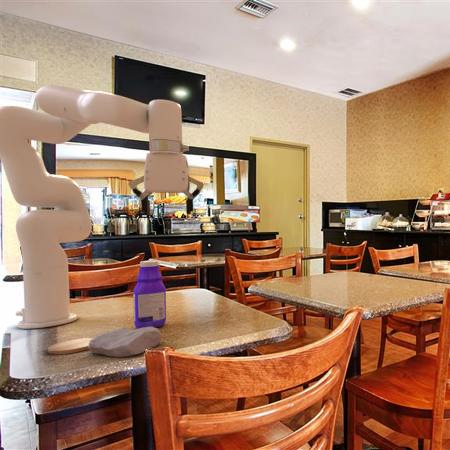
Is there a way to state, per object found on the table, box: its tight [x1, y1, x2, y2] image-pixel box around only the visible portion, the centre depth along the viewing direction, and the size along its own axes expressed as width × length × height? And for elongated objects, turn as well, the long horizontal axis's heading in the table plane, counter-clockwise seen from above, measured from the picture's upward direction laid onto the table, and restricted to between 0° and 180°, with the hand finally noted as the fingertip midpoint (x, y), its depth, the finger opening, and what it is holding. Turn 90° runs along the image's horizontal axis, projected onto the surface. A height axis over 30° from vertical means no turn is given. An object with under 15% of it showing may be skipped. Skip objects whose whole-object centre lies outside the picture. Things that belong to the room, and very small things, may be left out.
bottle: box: [132, 260, 167, 329], centre depth 107 cm, size 7×6×17 cm
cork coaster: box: [47, 337, 94, 355], centre depth 91 cm, size 9×9×1 cm
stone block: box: [87, 327, 162, 358], centre depth 89 cm, size 12×5×10 cm
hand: (168, 214), depth 107 cm, fingers open, 9 cm apart
